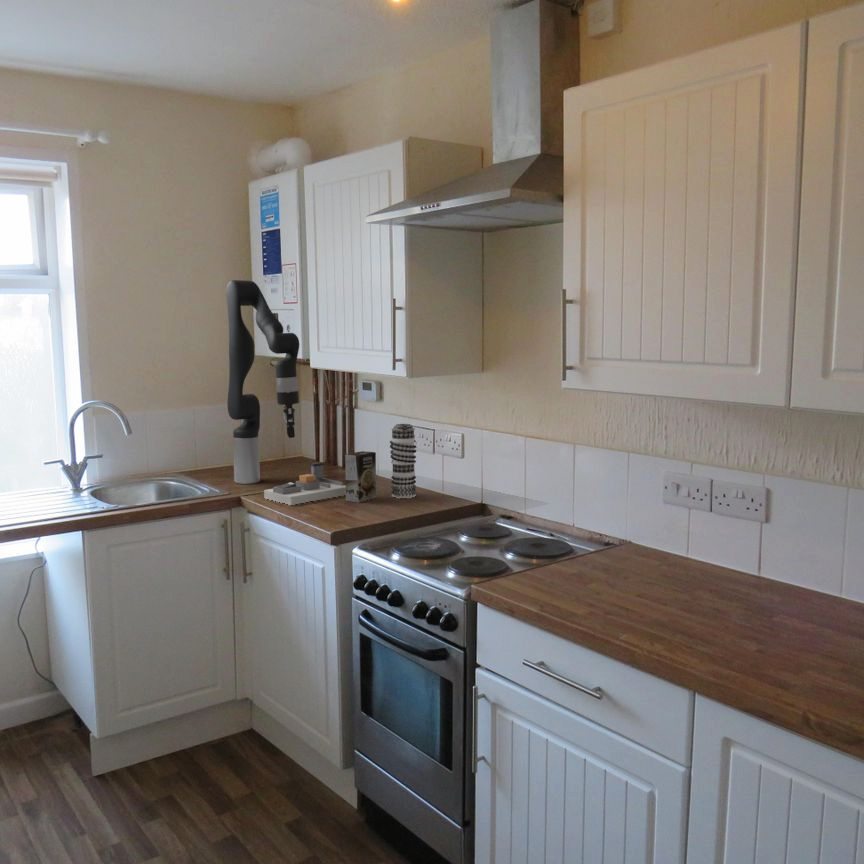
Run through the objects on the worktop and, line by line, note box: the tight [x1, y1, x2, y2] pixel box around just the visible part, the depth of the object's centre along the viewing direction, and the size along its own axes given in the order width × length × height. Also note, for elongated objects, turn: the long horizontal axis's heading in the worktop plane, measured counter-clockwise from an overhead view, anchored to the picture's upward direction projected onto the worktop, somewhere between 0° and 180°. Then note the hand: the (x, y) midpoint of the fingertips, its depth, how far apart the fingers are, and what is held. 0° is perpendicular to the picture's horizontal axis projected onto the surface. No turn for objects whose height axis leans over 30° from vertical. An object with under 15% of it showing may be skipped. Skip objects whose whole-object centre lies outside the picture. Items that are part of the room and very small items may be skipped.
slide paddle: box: [309, 461, 325, 482], centre depth 305 cm, size 2×4×7 cm, turn 134°
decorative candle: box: [389, 423, 417, 499], centre depth 294 cm, size 9×9×25 cm
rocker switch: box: [277, 482, 296, 489], centre depth 289 cm, size 4×5×1 cm
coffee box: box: [344, 450, 377, 504], centre depth 289 cm, size 9×6×16 cm
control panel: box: [263, 477, 346, 506], centre depth 295 cm, size 16×25×6 cm, turn 134°
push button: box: [298, 473, 316, 483], centre depth 295 cm, size 4×4×2 cm
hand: (290, 436), depth 300 cm, fingers open, 8 cm apart
